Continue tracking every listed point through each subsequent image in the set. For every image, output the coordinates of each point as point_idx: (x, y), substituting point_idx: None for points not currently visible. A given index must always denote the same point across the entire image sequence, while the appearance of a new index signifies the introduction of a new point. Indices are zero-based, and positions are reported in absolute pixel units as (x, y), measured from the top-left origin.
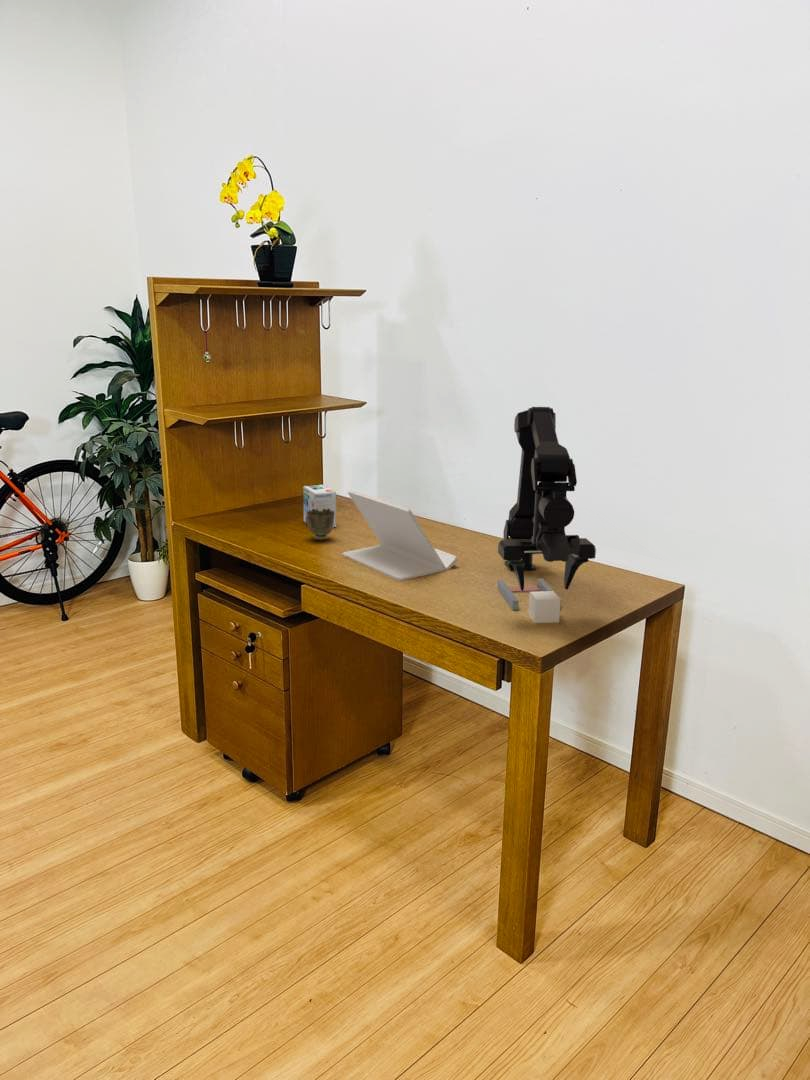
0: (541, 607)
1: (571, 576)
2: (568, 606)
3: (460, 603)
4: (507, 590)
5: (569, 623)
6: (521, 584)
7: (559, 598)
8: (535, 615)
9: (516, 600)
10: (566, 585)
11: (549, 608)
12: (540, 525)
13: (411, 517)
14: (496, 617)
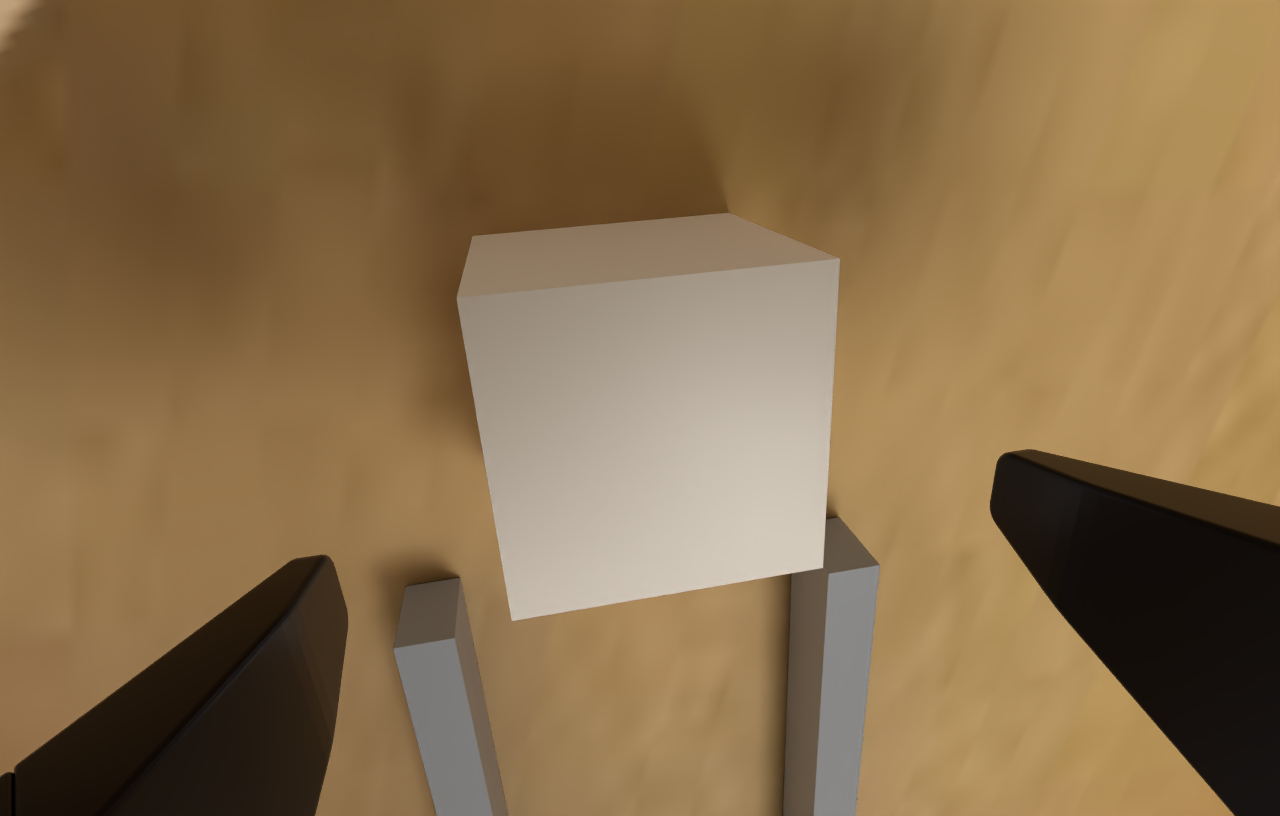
0: (719, 249)
1: (109, 730)
2: None
3: None
4: (842, 778)
5: (355, 195)
6: (1129, 476)
7: (468, 334)
8: (754, 225)
9: (844, 578)
10: (303, 590)
11: (609, 252)
12: None
13: None
14: (1020, 347)
